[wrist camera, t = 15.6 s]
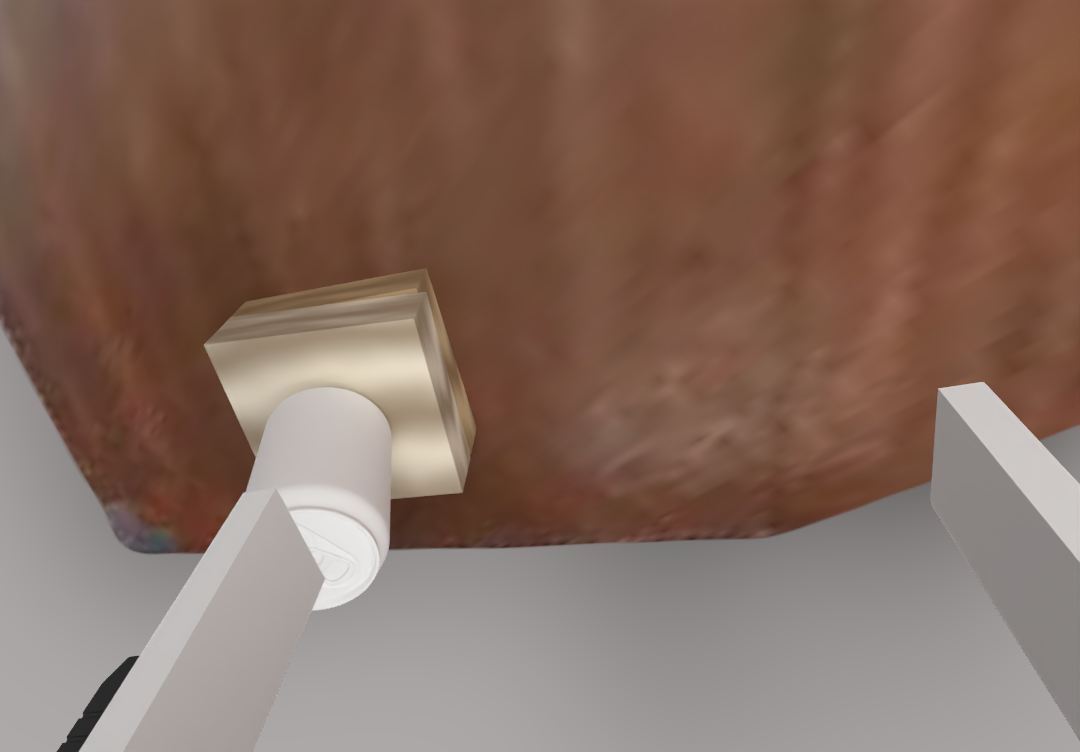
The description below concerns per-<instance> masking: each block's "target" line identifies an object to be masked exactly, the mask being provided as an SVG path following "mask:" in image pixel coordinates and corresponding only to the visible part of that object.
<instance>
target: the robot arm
mask: <svg viewBox="0 0 1080 752" xmlns="http://www.w3.org/2000/svg"><path fill="white" fill-rule="evenodd" d="M930 504H931V505H932V507H933V509H934V510H935V512H936V513H937V515H938V517H939V518H940V520H941V521H942V523H943V525H944V526H945V528H946V529H947V531H948V532H949V534H950V536H951V537H952V538H953V540H954V542H955V544H956V545H957V547H958V548H959V550H960V551H961V553H962V555H963V556H964V558H965V559H966V561H967V563H968V564H969V566H970V567H971V569H972V570H973V572H974V574H975V575H976V577H977V578H978V580H979V582H980V583H981V585H982V586H983V588H984V590H985V591H986V593H987V594H988V596H989V597H990V599H991V601H992V602H993V604H994V605H995V607H996V609H997V610H998V612H999V613H1000V615H1001V617H1002V618H1003V620H1004V621H1005V623H1006V624H1007V626H1008V628H1009V629H1010V631H1011V632H1012V634H1013V636H1014V637H1015V639H1016V640H1017V642H1018V643H1019V645H1020V647H1021V648H1022V650H1023V652H1024V653H1025V655H1026V656H1027V658H1028V659H1029V661H1030V663H1031V664H1032V666H1033V667H1034V669H1035V670H1036V672H1037V674H1038V675H1039V677H1040V678H1041V680H1042V682H1043V683H1044V685H1045V686H1046V688H1047V690H1048V691H1049V693H1050V694H1051V696H1052V698H1053V699H1054V701H1055V702H1056V704H1057V705H1058V707H1059V709H1060V710H1061V712H1062V713H1063V715H1064V717H1065V718H1066V720H1067V721H1068V723H1069V725H1070V726H1071V728H1072V729H1073V731H1074V733H1075V734H1076V736H1077V737H1078V739H1079V740H1080V484H1079V483H1078V482H1077V481H1076V480H1075V479H1074V478H1073V477H1072V476H1071V475H1070V474H1069V473H1068V471H1067V470H1066V469H1065V468H1064V467H1063V466H1062V465H1061V464H1060V463H1059V462H1058V461H1057V460H1056V459H1055V458H1054V457H1053V455H1052V454H1051V453H1050V452H1049V451H1048V450H1047V449H1046V448H1045V447H1044V446H1043V445H1042V444H1041V443H1040V441H1039V440H1038V439H1037V438H1036V437H1035V436H1034V435H1033V434H1032V433H1031V432H1030V431H1029V430H1028V429H1027V428H1026V427H1025V425H1024V424H1023V423H1022V422H1021V421H1020V420H1019V419H1018V418H1017V417H1016V416H1015V415H1014V414H1013V413H1012V412H1011V410H1010V409H1009V408H1008V407H1007V406H1006V405H1005V404H1004V403H1003V402H1002V401H1001V400H1000V399H999V398H998V397H997V395H996V394H995V393H994V392H993V391H992V390H991V389H990V388H989V387H988V386H987V385H986V384H985V383H984V382H979V383H973V384H966V385H959V386H953V387H946V388H939V389H938V399H937V413H936V427H935V441H934V455H933V469H932V483H931V498H930ZM324 580H325V578H324V576H323V574H322V573H321V571H320V569H319V567H318V565H317V563H316V561H315V559H314V558H313V556H312V554H311V552H310V550H309V548H308V546H307V544H306V543H305V541H304V539H303V537H302V535H301V533H300V531H299V530H298V528H297V526H296V524H295V522H294V520H293V518H292V516H291V515H290V513H289V511H288V509H287V507H286V505H285V503H284V501H283V500H282V498H281V496H280V494H279V492H278V490H277V488H272V489H265V490H258V491H252V492H245V493H243V494H242V496H241V497H240V499H239V500H238V502H237V504H236V505H235V507H234V508H233V510H232V511H231V513H230V515H229V516H228V518H227V519H226V521H225V522H224V524H223V526H222V527H221V529H220V530H219V532H218V533H217V535H216V537H215V538H214V540H213V541H212V543H211V544H210V546H209V548H208V549H207V551H206V552H205V554H204V555H203V557H202V559H201V560H200V562H199V563H198V565H197V566H196V568H195V570H194V571H193V573H192V574H191V576H190V578H189V579H188V581H187V582H186V584H185V585H184V587H183V588H182V590H181V592H180V593H179V595H178V596H177V598H176V599H175V601H174V603H173V604H172V606H171V607H170V609H169V610H168V612H167V614H166V615H165V617H164V618H163V620H162V622H161V623H160V625H159V626H158V628H157V629H156V631H155V632H154V634H153V636H152V637H151V639H150V640H149V642H148V643H147V645H146V647H145V648H144V650H143V651H142V653H141V654H140V656H133V657H129V658H128V659H126V661H125V662H123V663H122V665H120V666H119V668H117V669H116V670H115V671H114V672H113V673H112V674H111V675H110V676H109V677H108V678H107V679H106V680H105V681H104V682H103V683H102V684H101V686H100V687H99V689H98V691H97V692H96V694H95V695H94V697H93V698H92V700H91V701H90V703H89V704H88V706H87V707H86V709H85V710H84V712H83V718H81V719H78V721H77V722H76V724H75V725H74V727H73V728H72V730H71V731H70V733H69V734H68V736H67V742H66V743H62V745H61V746H60V748H59V749H58V751H57V752H253V750H254V748H255V745H256V743H257V741H258V738H259V736H260V733H261V731H262V728H263V726H264V724H265V721H266V719H267V717H268V714H269V712H270V709H271V707H272V705H273V702H274V700H275V698H276V695H277V693H278V690H279V688H280V686H281V683H282V681H283V678H284V675H285V674H286V671H287V669H288V666H289V664H290V661H291V659H292V657H293V654H294V652H295V650H296V647H297V645H298V642H299V640H300V637H301V635H302V633H303V630H304V628H305V626H306V623H307V621H308V618H309V616H310V614H311V611H312V609H313V606H314V604H315V602H316V599H317V597H318V594H319V592H320V590H321V587H322V585H323V582H324Z"/></svg>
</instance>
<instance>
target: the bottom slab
mask: <svg viewBox="0 0 1080 752" xmlns="http://www.w3.org/2000/svg"><path fill="white" fill-rule="evenodd" d="M421 292H426V293H427V297H428V300H429V304H430V308H431V312H432V315H433V319H434V323H435V327H436V331H437V334H438V338H439V342H440V346H441V349H442V353H443V357H444V361H445V365H446V368H447V372H448V376H449V380H450V383H451V387H452V391H453V395H454V399H455V402H456V406H457V410H458V414H459V417H460V421H461V425H462V429H463V433H464V436H465V440H466V444H467V448H468V452H469V454H471V452H472V447H473V443H474V438H475V434H476V430H477V427H476V424H475V421H474V418H473V415H472V411H471V408H470V405H469V402H468V399H467V396H466V392H465V389H464V386H463V383H462V380H461V377H460V373H459V370H458V367H457V364H456V361H455V357H454V354H453V351H452V348H451V345H450V342H449V338H448V335H447V332H446V329H445V326H444V323H443V319H442V316H441V313H440V310H439V307H438V303H437V300H436V297H435V294H434V291H433V288H432V284H431V281H430V278H429V275H428V272H427V269H426V268H425V269H420V270H414V271H409V272H403V273H398V274H393V275H387V276H382V277H376V278H371V279H365V280H360V281H355V282H349V283H344V284H338V285H333V286H328V287H322V288H317V289H311V290H306V291H300V292H295V293H290V294H284V295H279V296H273V297H268V298H263V299H257V300H252V301H246V302H245V303H244V304H243V305H242V306H241V307H240V308H239V309H238V310H237V311H236V312H235V313H234V314H233V315H232V316H231V317H236V316H244V315H252V314H259V313H267V312H275V311H282V310H290V309H298V308H305V307H313V306H321V305H328V304H336V303H344V302H352V301H359V300H367V299H375V298H382V297H390V296H398V295H405V294H413V293H421Z"/></svg>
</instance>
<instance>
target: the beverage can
mask: <svg viewBox="0 0 1080 752" xmlns="http://www.w3.org/2000/svg"><path fill="white" fill-rule="evenodd" d="M391 450H392V436H391V430H390V426H389V423H388V421H387V419H386V417H385V416H384V414H383V413H382V412H381V410H380V409H379V408H378V407H377V406H376V405H375V404H374V403H372V402H371V401H370V400H368V399H367V398H365V397H363V396H362V395H360V394H357V393H355V392H352V391H349V390H346V389H341V388H334V387H318V388H312V389H307V390H304V391H301V392H298V393H296V394H294V395H292V396H290V397H288V398H287V399H285V400H284V401H282V402H281V403H280V404H279V405H278V406H277V407H276V408H275V409H274V411H273V412H272V413H271V415H270V417H269V419H268V421H267V423H266V426H265V430H264V433H263V436H262V440H261V443H260V446H259V450H258V453H257V456H256V460H255V463H254V466H253V470H252V473H251V476H250V480H249V483H248V486H247V490H246V492H252V491H258V490H265V489H272V488H277V490H278V492H279V494H280V496H281V498H282V500H283V501H284V503H285V505H286V507H287V509H288V511H289V513H290V515H291V516H292V518H293V520H294V522H295V524H296V526H297V528H298V530H299V531H300V533H301V535H302V537H303V539H304V541H305V543H306V544H307V546H308V548H309V550H310V552H311V554H312V556H313V558H314V559H315V561H316V563H317V565H318V567H319V569H320V571H321V573H322V574H323V576H324V578H325V580H324V582H323V585H322V587H321V590H320V592H319V594H318V597H317V599H316V602H315V604H314V606H313V609H312V610H322V609H328V608H332V607H336V606H339V605H342V604H344V603H346V602H349V601H351V600H352V599H354V598H356V597H357V596H358V595H360V594H361V593H362V592H364V591H365V590H366V589H367V588H368V587H369V586H370V584H371V583H372V582H373V580H374V578H375V577H376V574H377V572H378V571H379V569H380V568H381V566H382V565H383V563H384V561H385V559H386V556H387V553H388V549H389V540H390V496H391Z"/></svg>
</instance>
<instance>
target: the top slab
mask: <svg viewBox="0 0 1080 752" xmlns="http://www.w3.org/2000/svg"><path fill="white" fill-rule="evenodd" d="M204 346H205V349H206V351H207V353H208V355H209V357H210V359H211V362H212V364H213V366H214V368H215V370H216V373H217V375H218V377H219V379H220V381H221V383H222V386H223V388H224V390H225V392H226V394H227V396H228V399H229V401H230V403H231V405H232V407H233V410H234V412H235V414H236V416H237V418H238V420H239V423H240V425H241V427H242V429H243V431H244V433H245V436H246V438H247V440H248V442H249V444H250V447H251V449H252V451H253V453H254V455H255V457H256V456H257V453H258V450H259V446H260V443H261V440H262V436H263V433H264V430H265V426H266V423H267V421H268V419H269V417H270V415H271V413H272V412H273V411H274V409H275V408H276V407H277V406H278V405H279V404H280V403H281V402H282V401H284V400H285V399H287V398H288V397H290V396H292V395H294V394H296V393H298V392H301V391H304V390H307V389H312V388H318V387H334V388H341V389H346V390H349V391H352V392H355V393H357V394H360V395H362V396H363V397H365V398H367V399H368V400H370V401H371V402H372V403H374V404H375V405H376V406H377V407H378V408H379V409H380V410H381V412H382V413H383V414H384V416H385V417H386V419H387V421H388V423H389V426H390V430H391V436H392V450H391V496H390V499H398V498H409V497H420V496H431V495H442V494H453V493H463V489H464V484H465V480H466V475H467V471H468V466H469V462H470V455H469V452H468V448H467V444H466V440H465V436H464V433H463V429H462V425H461V421H460V417H459V414H458V410H457V406H456V402H455V399H454V395H453V391H452V387H451V383H450V380H449V376H448V372H447V368H446V365H445V361H444V357H443V353H442V349H441V346H440V342H439V338H438V334H437V331H436V327H435V323H434V319H433V315H432V312H431V308H430V304H429V300H428V297H427V293H426V292H421V293H413V294H405V295H398V296H390V297H382V298H375V299H367V300H359V301H352V302H344V303H336V304H328V305H321V306H313V307H305V308H298V309H290V310H282V311H275V312H267V313H259V314H252V315H244V316H236V317H230V318H229V319H228V320H227V321H226V322H225V324H224V325H223V326H222V327H221V328H220V329H219V330H218V331H217V332H216V333H215V334H214V335H213V336H212V337H211V338H210V339H209V340H208V341H207V342H206V343H205V344H204Z"/></svg>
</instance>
